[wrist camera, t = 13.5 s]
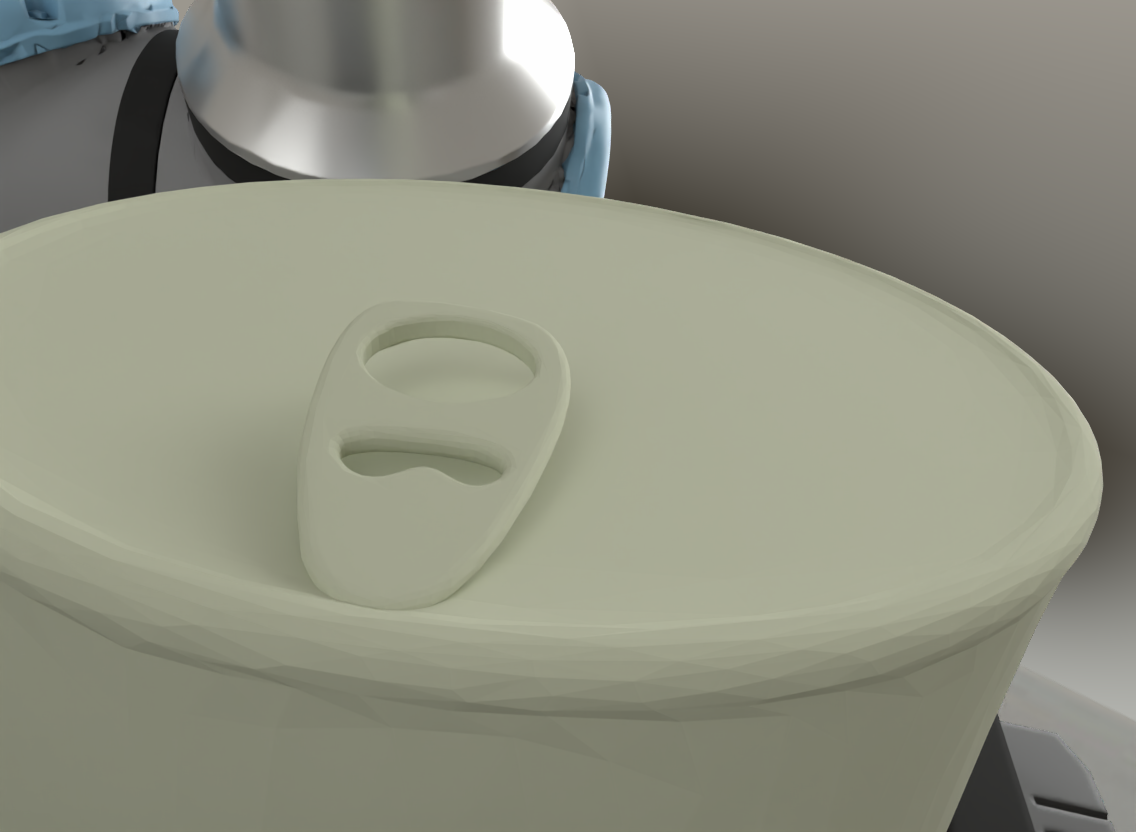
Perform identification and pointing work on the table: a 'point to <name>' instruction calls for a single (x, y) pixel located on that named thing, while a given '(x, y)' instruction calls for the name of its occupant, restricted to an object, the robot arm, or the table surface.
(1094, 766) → the table surface
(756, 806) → the can
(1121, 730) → the table surface
